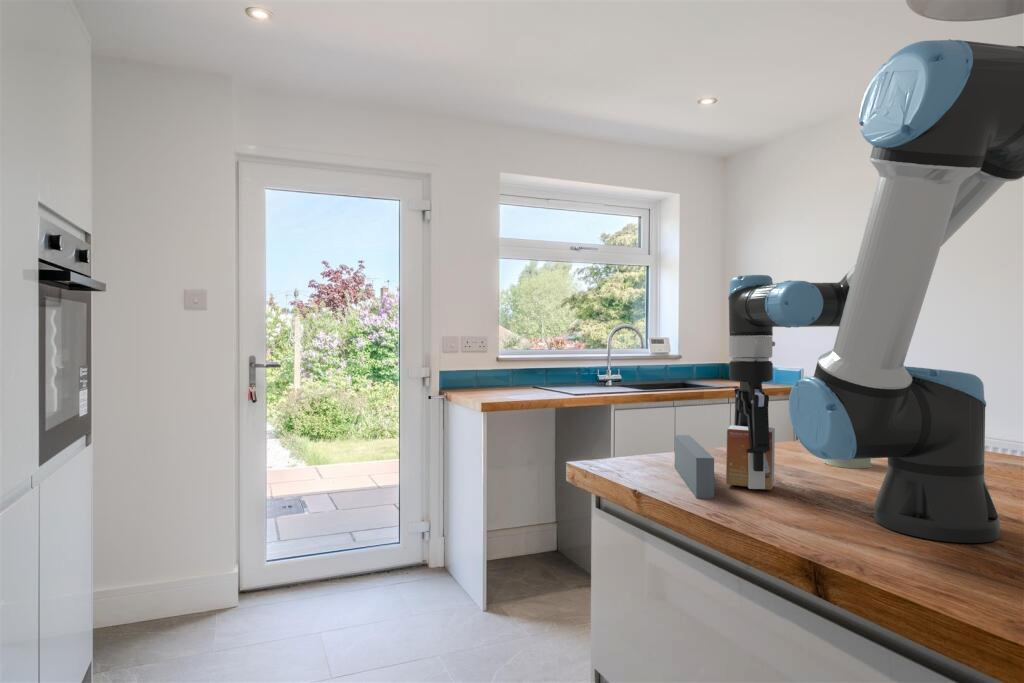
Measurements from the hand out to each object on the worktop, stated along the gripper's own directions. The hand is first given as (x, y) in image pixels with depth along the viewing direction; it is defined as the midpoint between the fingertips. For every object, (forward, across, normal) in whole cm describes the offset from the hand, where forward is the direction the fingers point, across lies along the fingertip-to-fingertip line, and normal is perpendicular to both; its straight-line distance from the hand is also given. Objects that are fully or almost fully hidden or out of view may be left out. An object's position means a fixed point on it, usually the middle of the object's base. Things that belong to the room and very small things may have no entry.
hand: (750, 483), depth 114 cm
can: (+1, +22, -26) cm, 34 cm away
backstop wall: (+1, +3, +10) cm, 10 cm away
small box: (0, 0, 0) cm, 0 cm away
